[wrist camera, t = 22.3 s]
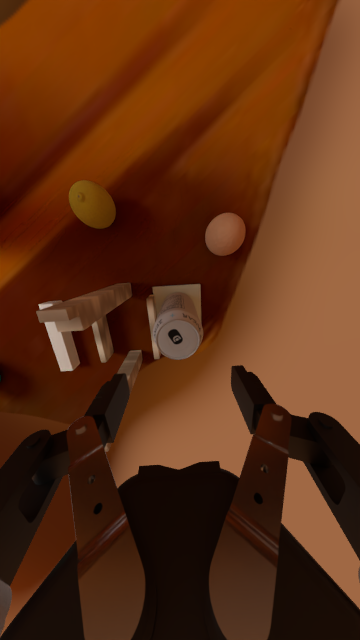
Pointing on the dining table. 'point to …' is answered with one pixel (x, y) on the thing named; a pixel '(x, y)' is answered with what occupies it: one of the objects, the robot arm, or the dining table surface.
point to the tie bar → (61, 343)
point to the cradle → (100, 323)
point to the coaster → (188, 289)
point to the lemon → (92, 204)
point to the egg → (225, 234)
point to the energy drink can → (177, 327)
